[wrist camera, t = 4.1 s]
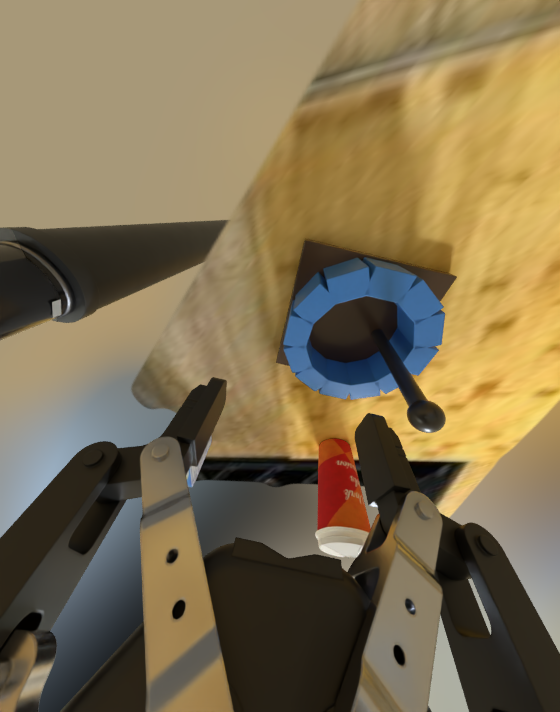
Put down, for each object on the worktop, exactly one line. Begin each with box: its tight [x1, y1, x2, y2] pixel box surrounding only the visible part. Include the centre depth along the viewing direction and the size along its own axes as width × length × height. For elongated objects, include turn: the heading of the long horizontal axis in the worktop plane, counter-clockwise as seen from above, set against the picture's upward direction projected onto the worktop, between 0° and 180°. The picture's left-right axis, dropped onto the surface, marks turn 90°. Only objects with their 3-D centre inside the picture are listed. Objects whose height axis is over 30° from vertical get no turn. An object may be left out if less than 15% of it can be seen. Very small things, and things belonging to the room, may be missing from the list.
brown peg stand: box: [276, 239, 457, 433], centre depth 17 cm, size 14×14×13 cm
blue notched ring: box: [283, 257, 445, 400], centre depth 20 cm, size 14×14×4 cm
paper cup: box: [315, 439, 371, 558], centre depth 31 cm, size 8×8×14 cm
